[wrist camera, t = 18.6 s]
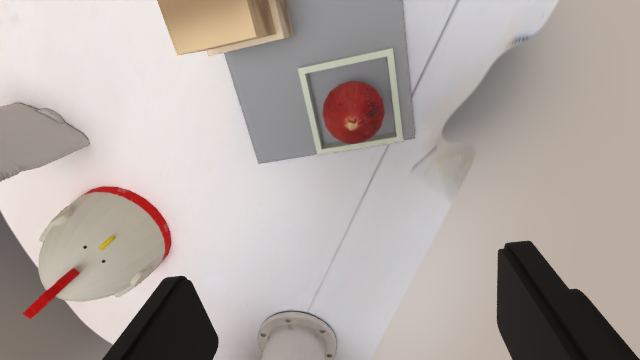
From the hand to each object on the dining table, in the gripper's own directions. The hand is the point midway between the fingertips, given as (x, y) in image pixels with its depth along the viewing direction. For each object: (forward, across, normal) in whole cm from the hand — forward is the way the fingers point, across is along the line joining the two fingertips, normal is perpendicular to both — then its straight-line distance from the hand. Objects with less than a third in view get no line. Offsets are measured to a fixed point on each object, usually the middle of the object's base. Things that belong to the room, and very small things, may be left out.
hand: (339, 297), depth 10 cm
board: (+28, +3, -6) cm, 29 cm away
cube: (+22, +8, -11) cm, 26 cm away
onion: (+27, 0, 0) cm, 27 cm away
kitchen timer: (+29, +35, +12) cm, 47 cm away
